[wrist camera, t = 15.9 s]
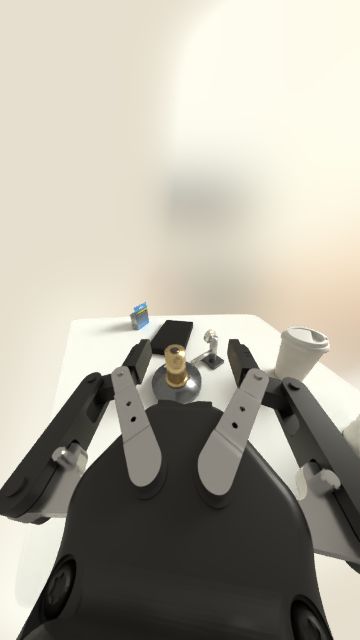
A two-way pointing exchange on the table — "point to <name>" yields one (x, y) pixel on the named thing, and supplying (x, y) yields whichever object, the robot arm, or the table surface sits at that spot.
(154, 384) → the turntable platter
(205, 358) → the dial gauge stand
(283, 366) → the coffee cup
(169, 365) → the brass cover
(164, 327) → the external hard drive
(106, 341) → the table surface
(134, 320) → the label tape box
